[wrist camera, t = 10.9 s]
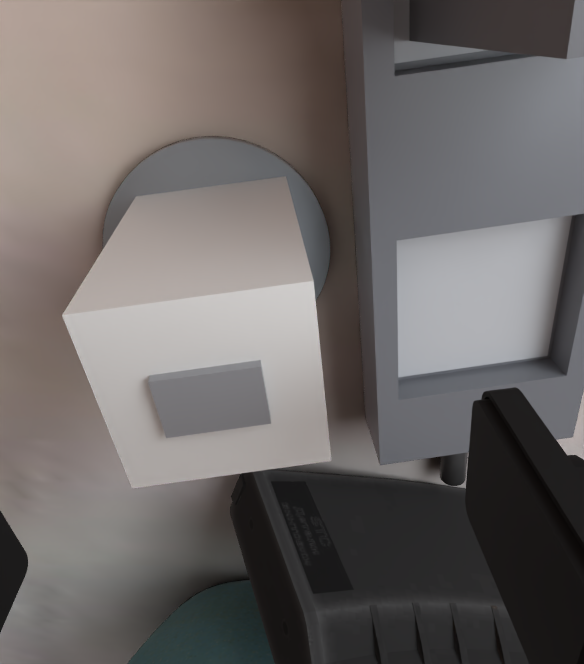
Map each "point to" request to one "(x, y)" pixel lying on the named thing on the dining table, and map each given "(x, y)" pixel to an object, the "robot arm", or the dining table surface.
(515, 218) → the power strip
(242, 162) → the slate coaster
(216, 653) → the teal bowl
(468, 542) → the magazine
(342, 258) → the dining table surface
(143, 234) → the block
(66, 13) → the dining table surface
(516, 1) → the block
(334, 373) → the dining table surface
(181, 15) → the dining table surface
